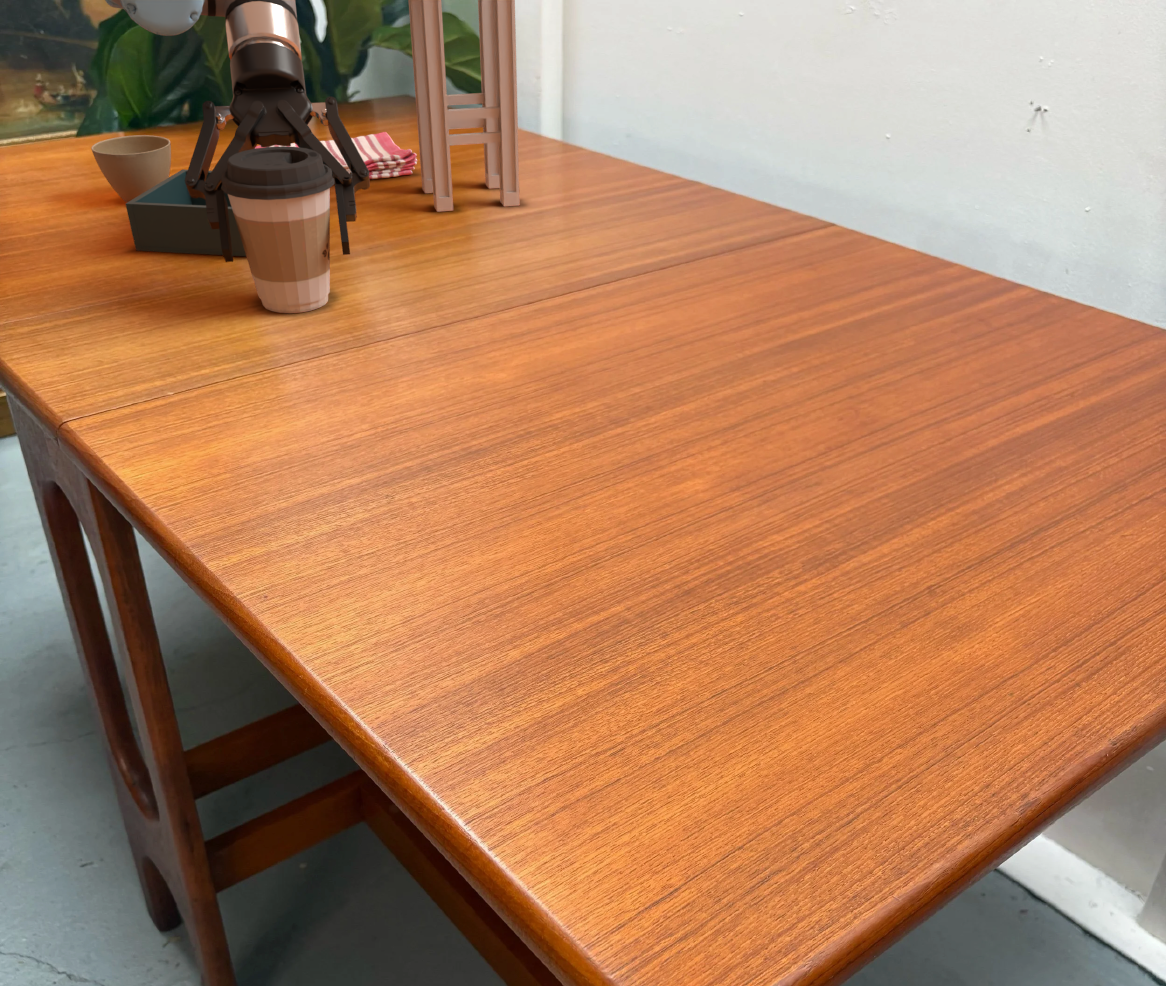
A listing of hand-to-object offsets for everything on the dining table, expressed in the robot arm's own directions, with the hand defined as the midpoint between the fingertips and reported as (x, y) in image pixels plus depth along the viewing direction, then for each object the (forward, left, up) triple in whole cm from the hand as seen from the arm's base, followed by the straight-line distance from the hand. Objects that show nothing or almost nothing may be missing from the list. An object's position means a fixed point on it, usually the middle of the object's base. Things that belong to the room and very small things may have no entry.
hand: (287, 252), depth 114 cm
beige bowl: (-35, +37, -6) cm, 51 cm away
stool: (+9, +45, -6) cm, 46 cm away
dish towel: (-15, +56, -6) cm, 58 cm away
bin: (-18, +24, -6) cm, 30 cm away
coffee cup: (-1, +3, -6) cm, 7 cm away
